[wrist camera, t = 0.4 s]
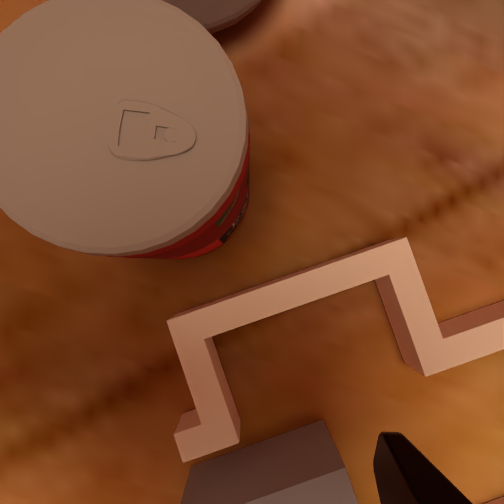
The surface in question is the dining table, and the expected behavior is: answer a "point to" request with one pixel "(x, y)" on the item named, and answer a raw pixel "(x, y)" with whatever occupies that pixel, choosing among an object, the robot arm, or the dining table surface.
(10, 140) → the canned food
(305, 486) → the slate block
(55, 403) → the dining table surface
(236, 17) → the coffee pot
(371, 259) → the white tray
